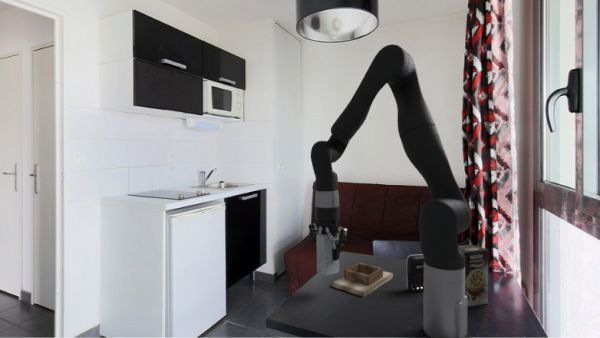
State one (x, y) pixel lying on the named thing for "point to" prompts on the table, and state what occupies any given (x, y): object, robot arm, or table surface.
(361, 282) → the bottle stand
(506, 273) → the table surface
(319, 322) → the table surface
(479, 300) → the coffee box
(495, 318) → the table surface
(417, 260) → the battery charger
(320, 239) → the skincare box
